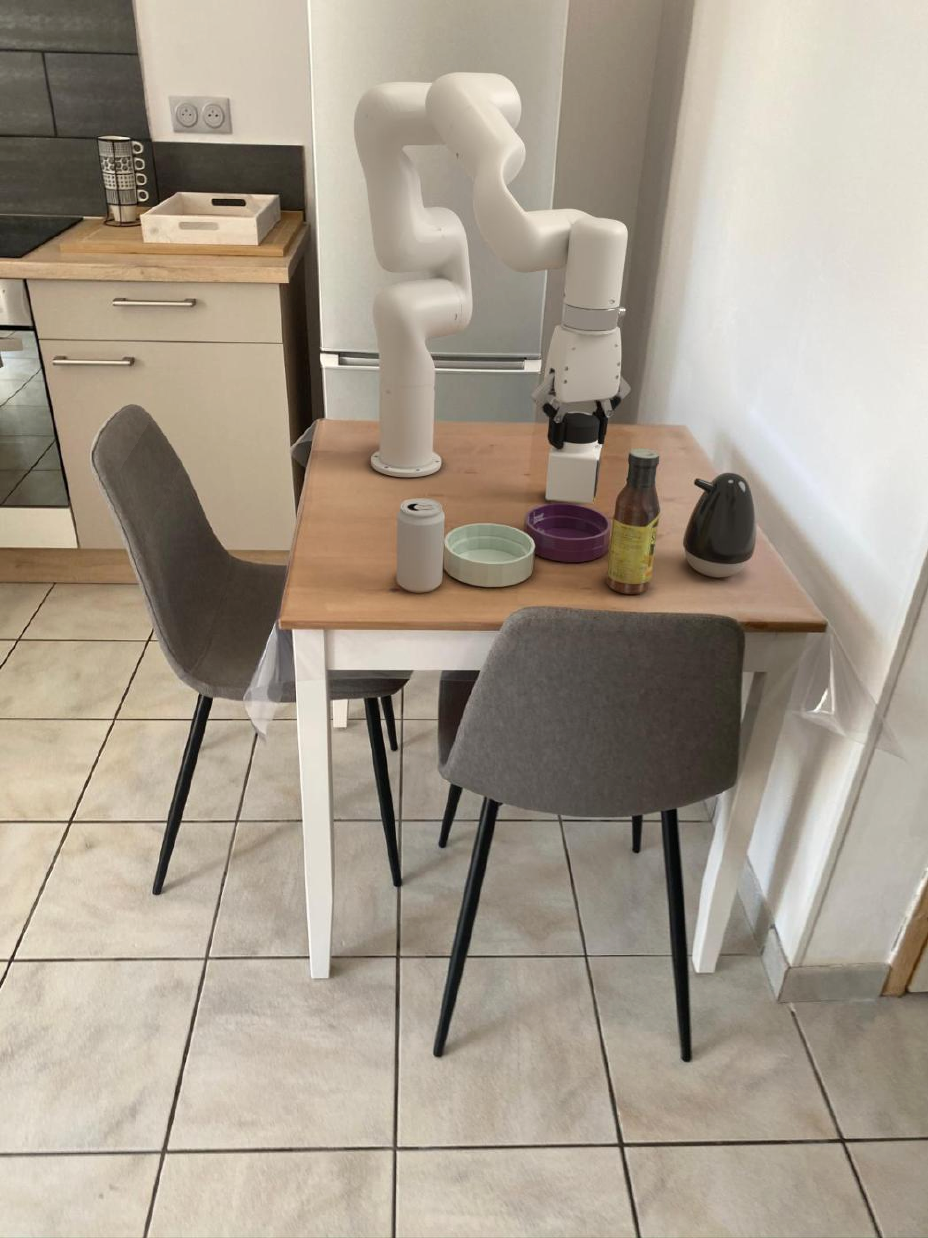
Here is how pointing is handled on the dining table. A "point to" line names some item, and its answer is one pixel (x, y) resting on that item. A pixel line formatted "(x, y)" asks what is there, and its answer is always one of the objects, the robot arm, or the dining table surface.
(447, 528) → the dining table surface
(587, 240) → the robot arm
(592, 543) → the plum bowl
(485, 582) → the pale bowl
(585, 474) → the medicine bottle
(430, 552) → the beverage can
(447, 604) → the dining table surface
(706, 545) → the pump dispenser
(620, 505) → the sauce bottle
